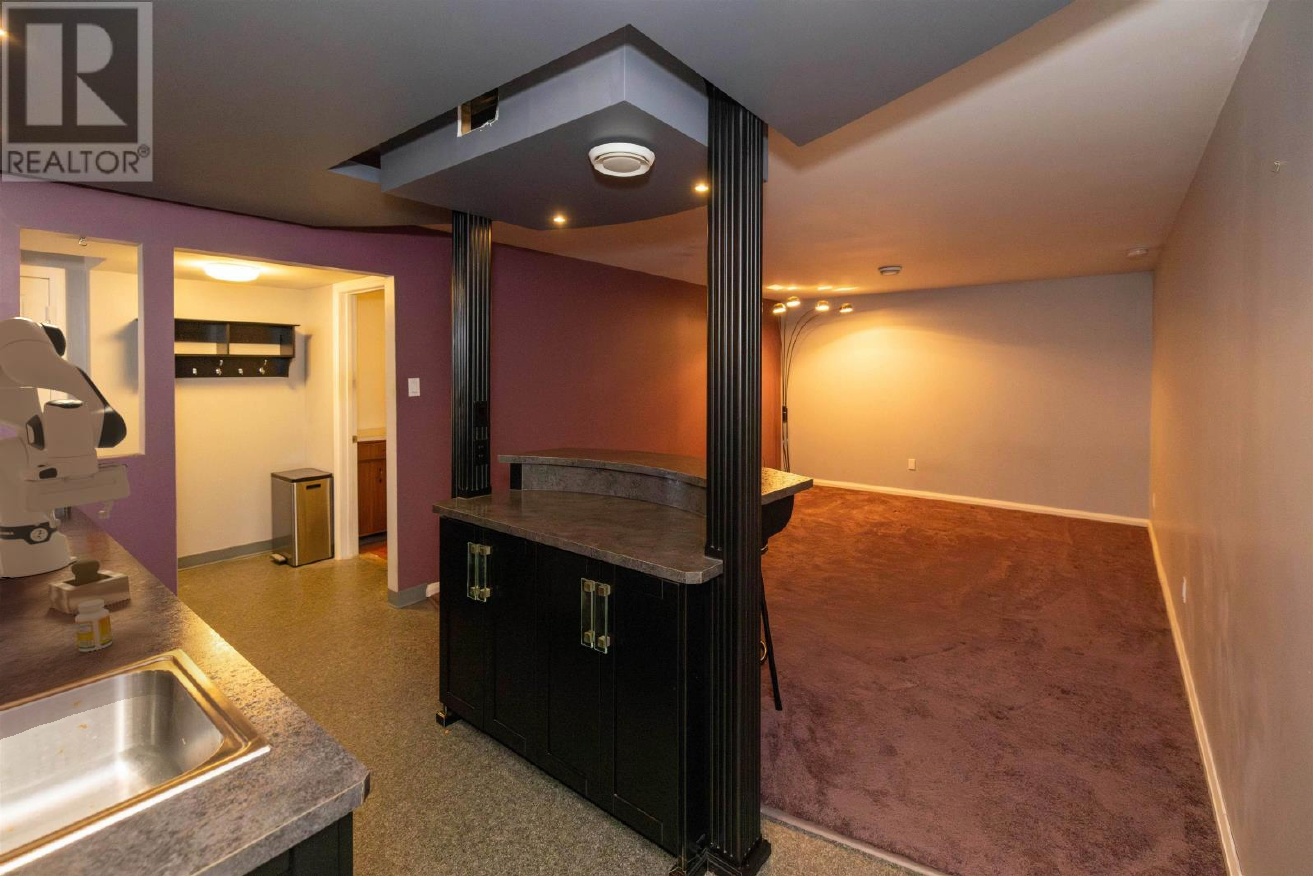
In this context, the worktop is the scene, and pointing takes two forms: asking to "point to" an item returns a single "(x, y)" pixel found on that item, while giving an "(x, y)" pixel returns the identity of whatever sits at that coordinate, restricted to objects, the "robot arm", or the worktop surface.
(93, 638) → the supplement bottle
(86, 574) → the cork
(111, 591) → the shaker holder
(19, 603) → the worktop surface
